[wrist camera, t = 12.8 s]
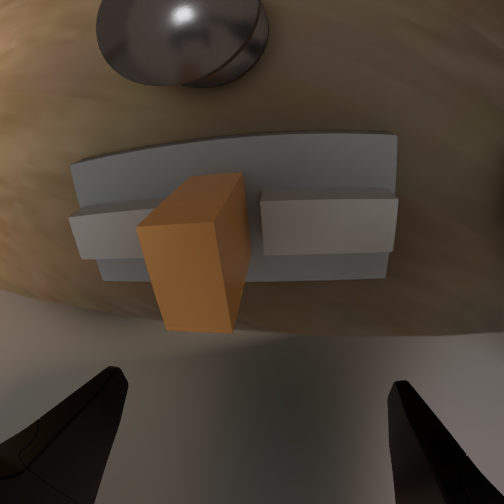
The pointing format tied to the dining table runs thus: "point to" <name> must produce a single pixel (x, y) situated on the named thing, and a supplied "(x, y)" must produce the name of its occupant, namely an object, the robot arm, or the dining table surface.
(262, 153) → the notched board
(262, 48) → the grey and brown spool
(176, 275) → the orange tab
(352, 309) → the dining table surface
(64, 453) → the robot arm
